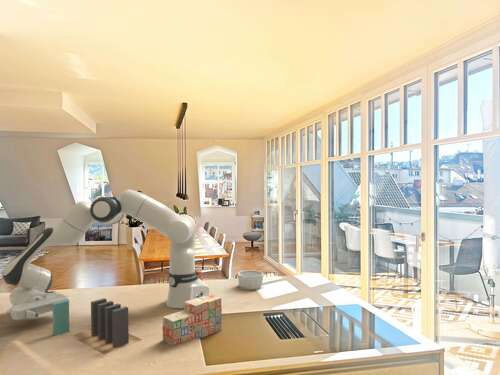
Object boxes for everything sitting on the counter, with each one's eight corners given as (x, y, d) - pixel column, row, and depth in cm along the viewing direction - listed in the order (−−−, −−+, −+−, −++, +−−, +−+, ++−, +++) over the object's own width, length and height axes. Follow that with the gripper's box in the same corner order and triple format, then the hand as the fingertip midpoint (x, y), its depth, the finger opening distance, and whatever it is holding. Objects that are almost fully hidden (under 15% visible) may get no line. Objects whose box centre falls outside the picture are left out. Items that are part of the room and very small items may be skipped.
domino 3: (111, 334, 137) (111, 300, 136) (113, 335, 136) (113, 301, 135) (98, 339, 133) (97, 304, 132) (100, 340, 132) (100, 305, 131)
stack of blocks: (173, 349, 128) (172, 312, 127) (162, 343, 132) (162, 307, 132) (221, 330, 143) (221, 297, 143) (210, 325, 147) (210, 293, 147)
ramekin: (254, 292, 189) (254, 278, 189) (232, 287, 196) (232, 274, 196) (268, 285, 200) (268, 272, 200) (246, 281, 207) (246, 268, 207)
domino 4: (118, 338, 134) (118, 303, 133) (121, 339, 133) (120, 304, 132) (105, 342, 130) (104, 307, 130) (107, 344, 129) (107, 308, 129)
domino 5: (126, 341, 131) (125, 306, 131) (128, 342, 130) (128, 307, 130) (112, 346, 127) (112, 310, 127) (115, 348, 126) (114, 311, 126)
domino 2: (104, 331, 140) (104, 298, 139) (107, 332, 139) (106, 299, 138) (91, 335, 136) (90, 301, 135) (93, 336, 135) (93, 302, 134)
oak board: (107, 326, 147) (107, 323, 147) (142, 342, 133) (142, 339, 133) (70, 338, 136) (70, 335, 136) (104, 357, 122) (104, 354, 122)
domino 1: (67, 332, 141) (66, 300, 140) (69, 333, 140) (68, 301, 139) (53, 337, 137) (52, 303, 136) (55, 338, 136) (54, 304, 135)
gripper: (4, 302, 145) (18, 310, 136) (59, 289, 161) (75, 296, 152) (4, 319, 145) (19, 328, 136) (59, 304, 161) (76, 312, 152)
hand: (49, 311), depth 144 cm, fingers open, 8 cm apart
